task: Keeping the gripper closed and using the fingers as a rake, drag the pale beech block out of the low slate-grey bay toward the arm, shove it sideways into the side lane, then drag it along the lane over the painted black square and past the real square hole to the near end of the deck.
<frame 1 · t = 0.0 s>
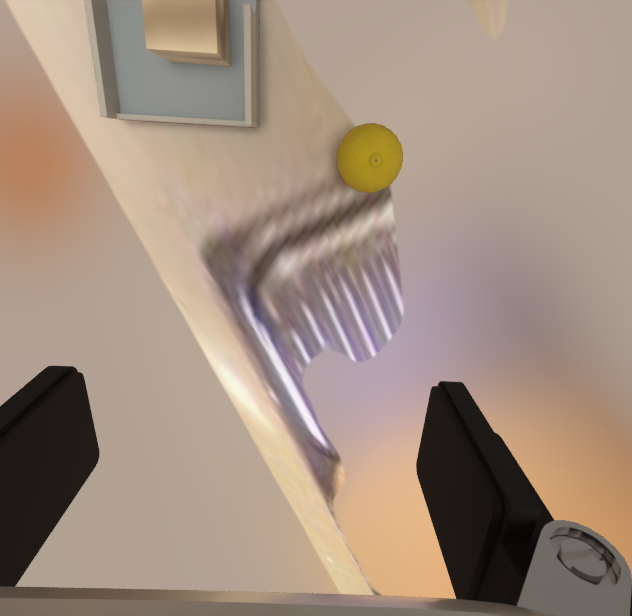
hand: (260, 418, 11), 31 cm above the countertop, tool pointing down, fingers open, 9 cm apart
block: (198, 28, 31), point 2 cm above the countertop, touching deck
lemon: (363, 157, 37), on the countertop
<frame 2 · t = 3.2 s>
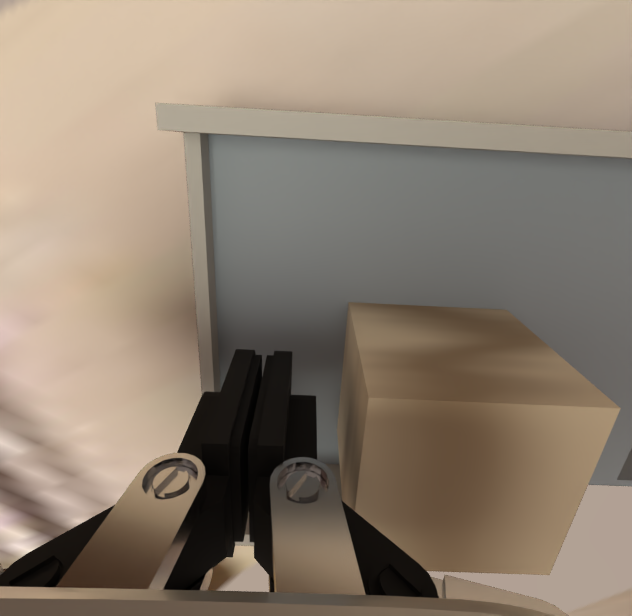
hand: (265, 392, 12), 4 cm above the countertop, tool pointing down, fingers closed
block: (415, 374, 13), point 2 cm above the countertop, touching deck, gripper
deck: (514, 315, 15), on the countertop
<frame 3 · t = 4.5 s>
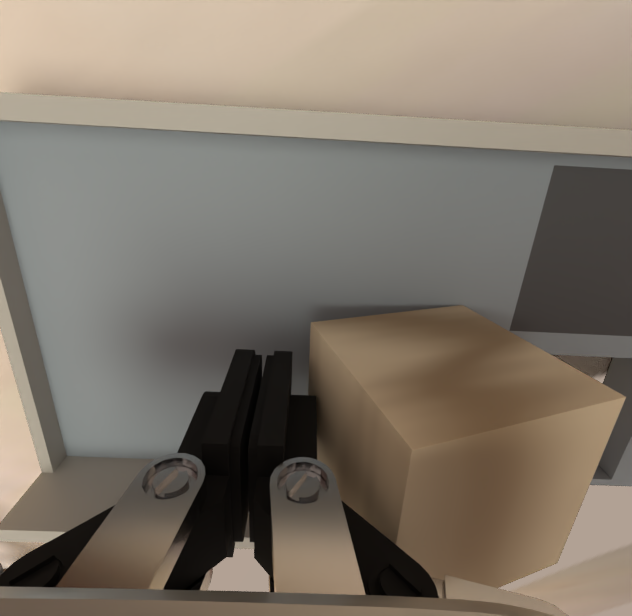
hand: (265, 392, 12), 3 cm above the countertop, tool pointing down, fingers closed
block: (382, 385, 12), point 3 cm above the countertop, tilted 19°, touching deck, gripper
deck: (361, 308, 14), on the countertop
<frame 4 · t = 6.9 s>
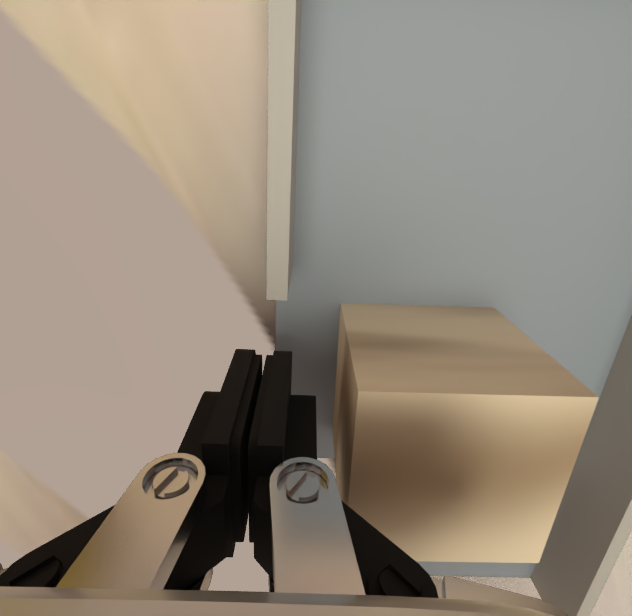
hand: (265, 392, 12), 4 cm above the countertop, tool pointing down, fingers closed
block: (407, 372, 14), point 2 cm above the countertop, touching deck, gripper
deck: (435, 333, 15), on the countertop
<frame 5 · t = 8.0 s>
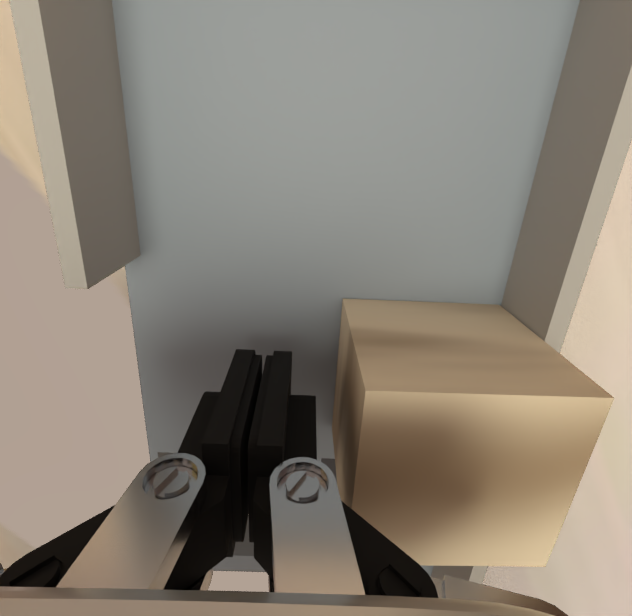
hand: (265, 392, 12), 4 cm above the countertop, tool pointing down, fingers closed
block: (410, 370, 13), point 2 cm above the countertop, touching deck, gripper
deck: (319, 327, 15), on the countertop
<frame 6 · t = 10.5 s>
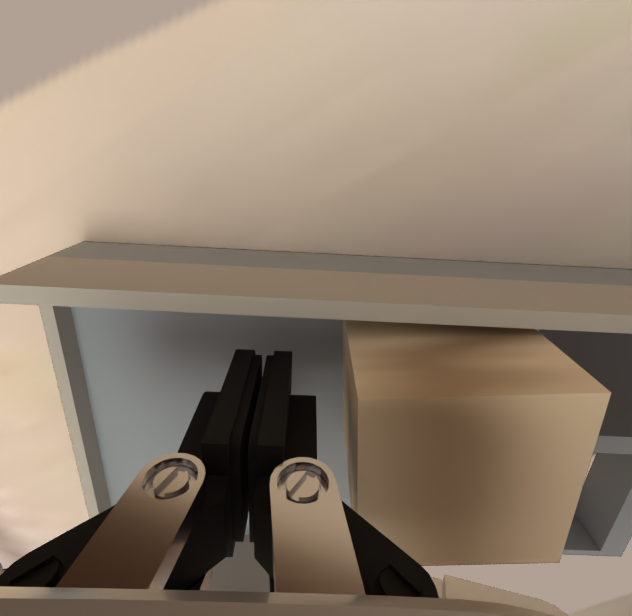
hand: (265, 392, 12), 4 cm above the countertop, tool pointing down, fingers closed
block: (416, 370, 13), point 2 cm above the countertop, touching deck, gripper
deck: (377, 400, 16), on the countertop
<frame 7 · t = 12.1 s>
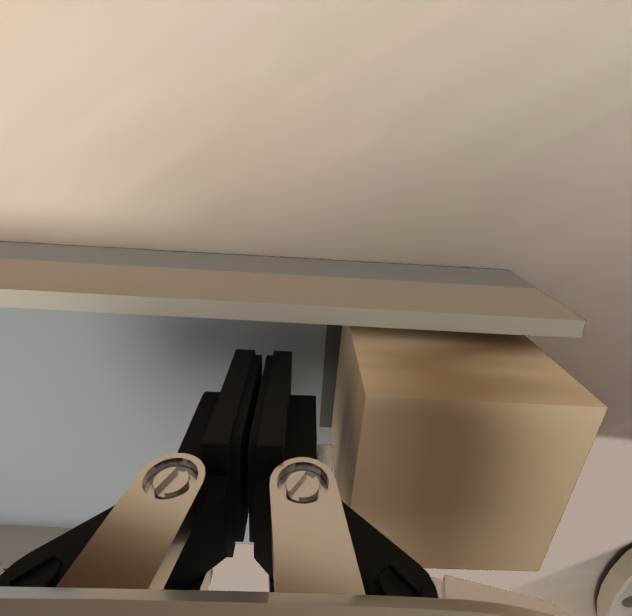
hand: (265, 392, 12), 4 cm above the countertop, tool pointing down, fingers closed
block: (409, 375, 13), point 2 cm above the countertop, touching deck, gripper
deck: (211, 395, 16), on the countertop
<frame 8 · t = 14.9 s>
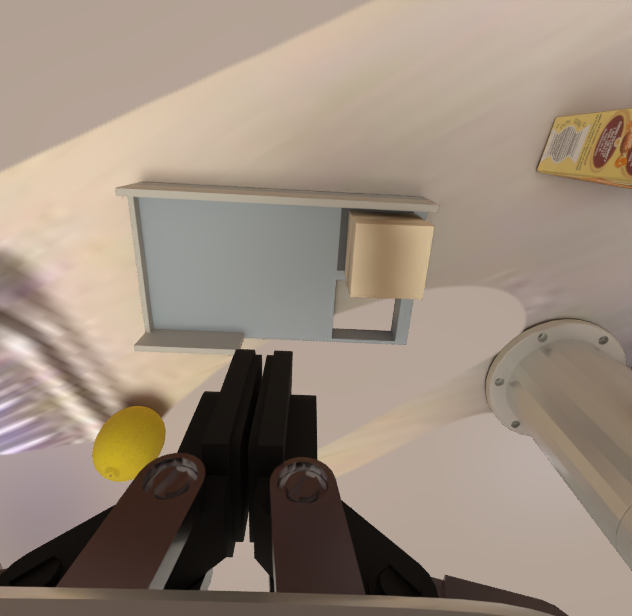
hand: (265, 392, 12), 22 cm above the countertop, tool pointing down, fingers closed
block: (378, 244, 30), point 2 cm above the countertop, touching deck
candy box: (596, 153, 30), on the countertop
deck: (282, 264, 33), on the countertop
lemon: (149, 411, 39), on the countertop
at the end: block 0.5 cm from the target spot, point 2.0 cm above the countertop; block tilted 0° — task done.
